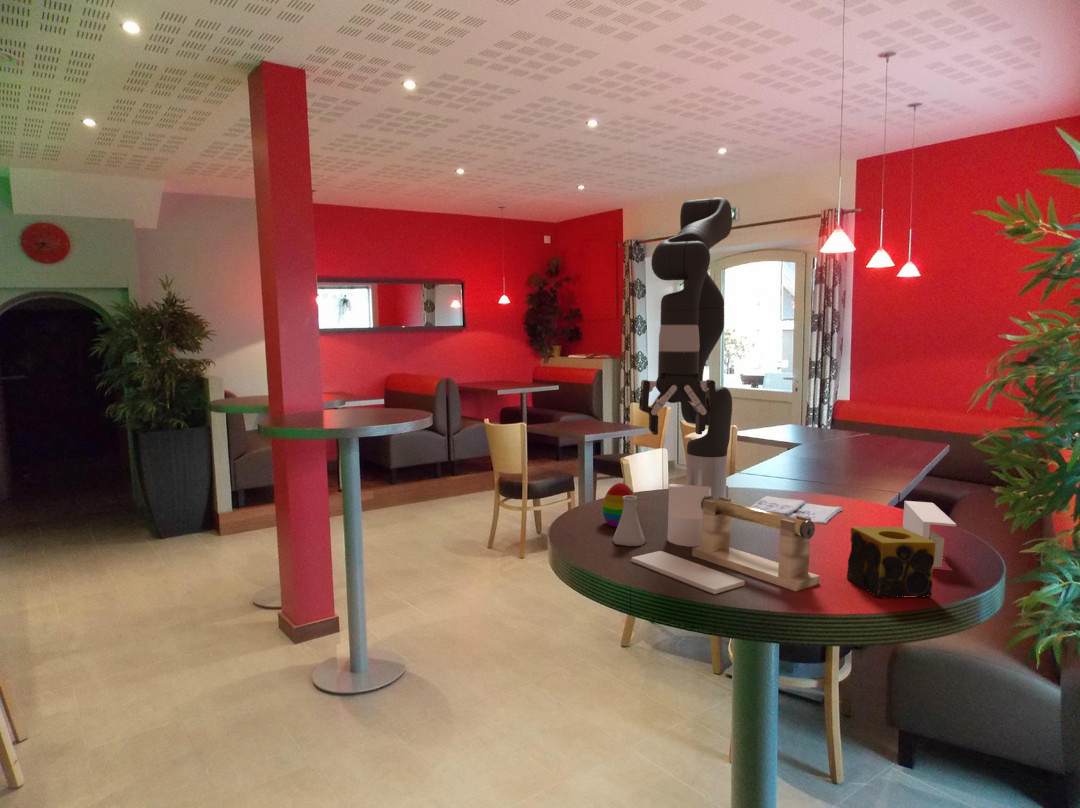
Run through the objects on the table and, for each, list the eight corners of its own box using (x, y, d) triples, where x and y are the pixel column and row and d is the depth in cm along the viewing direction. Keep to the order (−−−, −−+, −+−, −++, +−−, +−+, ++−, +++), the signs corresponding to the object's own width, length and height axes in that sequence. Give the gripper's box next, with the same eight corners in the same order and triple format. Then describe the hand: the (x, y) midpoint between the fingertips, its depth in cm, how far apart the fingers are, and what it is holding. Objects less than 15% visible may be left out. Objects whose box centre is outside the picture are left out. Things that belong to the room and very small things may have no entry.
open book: (767, 501, 190) (767, 493, 190) (844, 512, 179) (844, 504, 179) (743, 514, 175) (743, 506, 175) (826, 528, 163) (827, 519, 163)
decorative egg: (633, 520, 166) (634, 479, 165) (639, 529, 158) (640, 486, 157) (600, 520, 166) (601, 479, 165) (604, 529, 158) (605, 486, 157)
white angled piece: (953, 572, 131) (956, 524, 130) (920, 569, 133) (923, 521, 132) (928, 543, 150) (931, 501, 149) (900, 541, 152) (903, 499, 151)
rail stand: (715, 549, 143) (717, 494, 142) (819, 583, 123) (822, 519, 122) (692, 555, 139) (694, 498, 138) (795, 591, 119) (798, 525, 118)
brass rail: (700, 512, 139) (701, 496, 139) (711, 510, 141) (711, 494, 141) (803, 540, 120) (804, 522, 120) (814, 537, 122) (815, 519, 121)
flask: (644, 548, 144) (646, 501, 143) (610, 546, 145) (611, 499, 144) (646, 539, 151) (647, 494, 150) (613, 536, 152) (614, 492, 151)
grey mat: (660, 554, 139) (660, 550, 139) (744, 585, 122) (744, 580, 122) (631, 561, 135) (631, 557, 135) (714, 594, 118) (714, 589, 118)
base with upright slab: (711, 537, 153) (712, 484, 151) (707, 548, 144) (709, 492, 143) (670, 533, 155) (672, 481, 154) (664, 543, 147) (666, 489, 146)
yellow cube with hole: (845, 579, 126) (848, 526, 126) (897, 578, 127) (900, 525, 126) (877, 599, 116) (880, 542, 115) (933, 598, 117) (937, 541, 116)
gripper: (709, 349, 133) (707, 431, 135) (637, 348, 132) (636, 431, 134) (722, 349, 126) (719, 436, 128) (645, 349, 125) (644, 437, 127)
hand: (676, 434), depth 131 cm, fingers open, 8 cm apart
